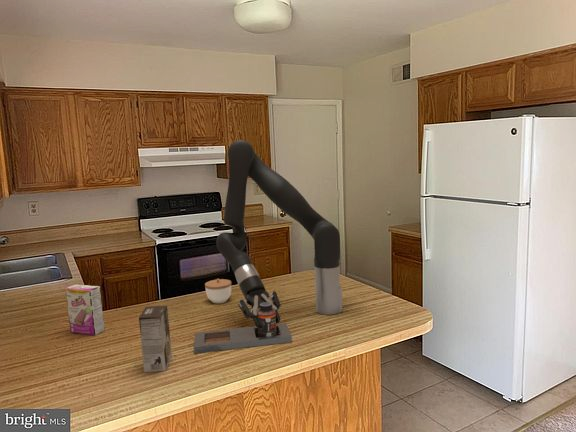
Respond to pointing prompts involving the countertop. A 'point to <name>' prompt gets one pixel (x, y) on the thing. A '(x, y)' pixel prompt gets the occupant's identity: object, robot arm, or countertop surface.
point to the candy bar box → (85, 309)
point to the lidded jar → (218, 290)
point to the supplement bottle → (267, 320)
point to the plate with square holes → (238, 338)
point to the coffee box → (155, 338)
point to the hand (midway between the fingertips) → (269, 324)
